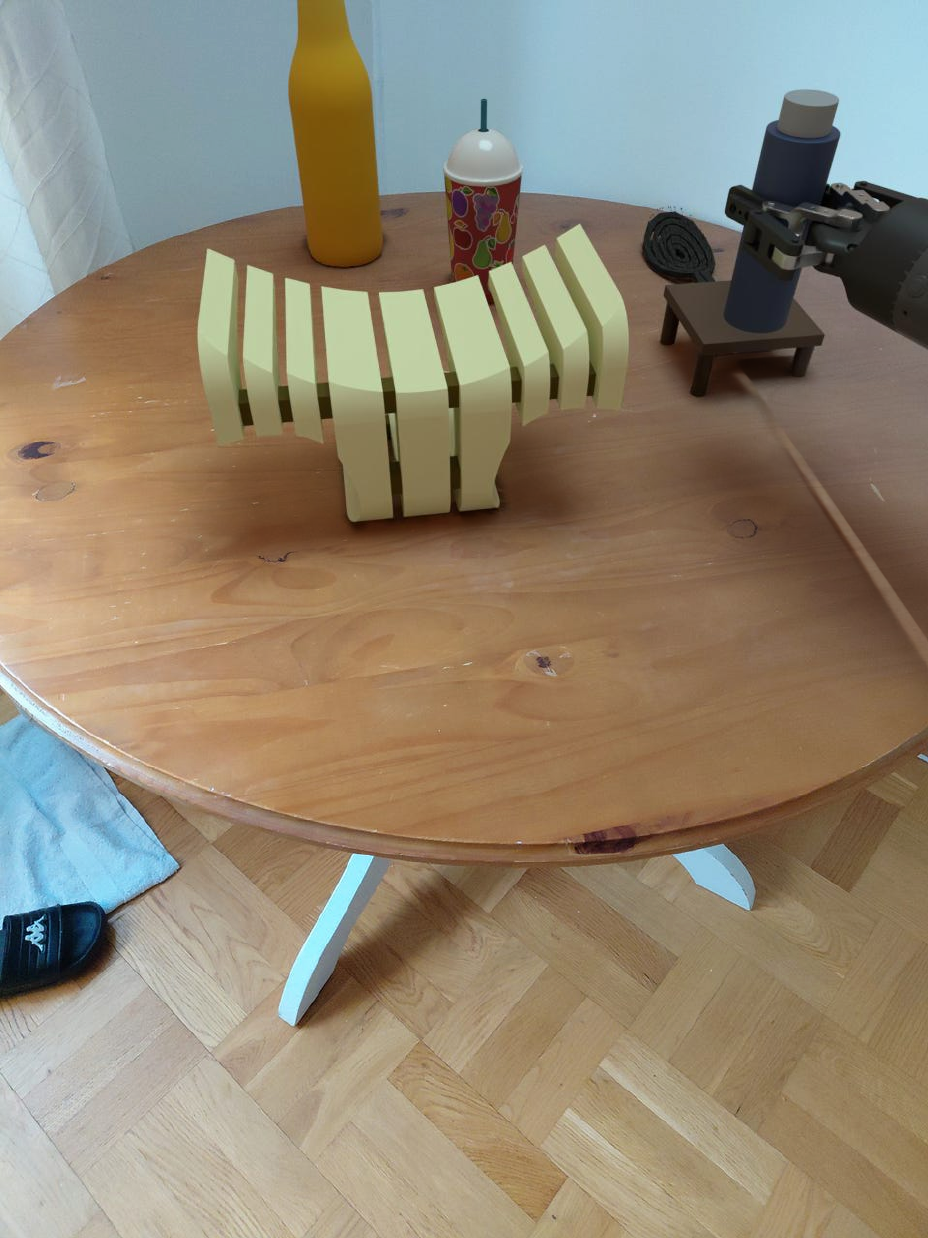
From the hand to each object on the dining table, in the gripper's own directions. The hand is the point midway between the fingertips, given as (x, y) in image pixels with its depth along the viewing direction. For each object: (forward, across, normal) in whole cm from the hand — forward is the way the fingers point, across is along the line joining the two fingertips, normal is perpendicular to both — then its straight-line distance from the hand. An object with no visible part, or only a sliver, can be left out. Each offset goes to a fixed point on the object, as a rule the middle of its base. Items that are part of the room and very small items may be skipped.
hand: (760, 191), depth 65 cm
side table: (+8, +10, -22) cm, 26 cm away
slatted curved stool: (+7, -26, -22) cm, 35 cm away
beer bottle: (+52, -14, -22) cm, 58 cm away
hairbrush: (+24, +19, -22) cm, 38 cm away
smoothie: (+34, -4, -22) cm, 41 cm away
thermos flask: (-3, 0, -9) cm, 9 cm away
